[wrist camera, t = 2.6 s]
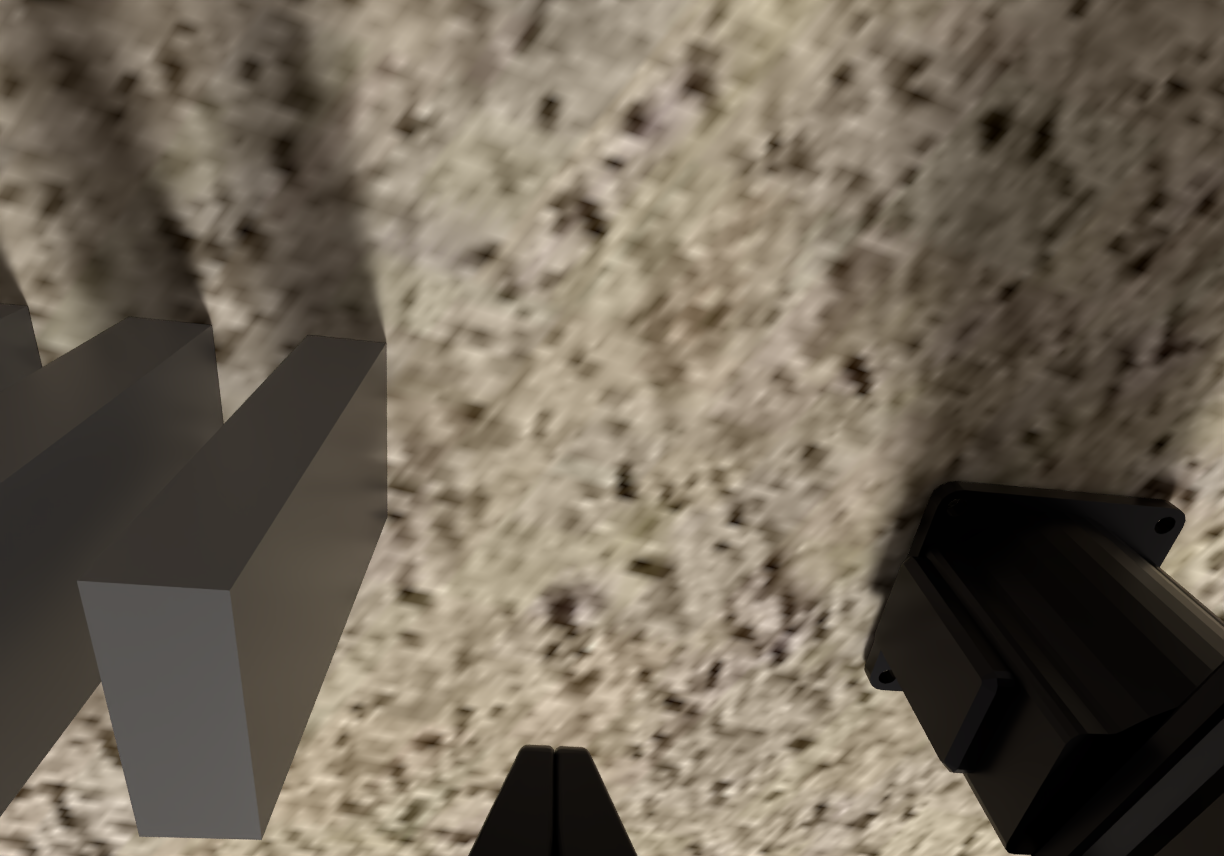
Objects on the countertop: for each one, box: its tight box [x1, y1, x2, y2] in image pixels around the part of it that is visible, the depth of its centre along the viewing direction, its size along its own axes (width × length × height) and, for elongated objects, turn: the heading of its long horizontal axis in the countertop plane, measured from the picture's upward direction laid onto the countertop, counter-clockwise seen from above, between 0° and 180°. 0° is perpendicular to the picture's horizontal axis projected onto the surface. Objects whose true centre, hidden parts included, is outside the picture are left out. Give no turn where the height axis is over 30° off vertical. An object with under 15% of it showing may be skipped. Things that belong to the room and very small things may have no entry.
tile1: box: [77, 335, 387, 840], centre depth 13 cm, size 2×4×8 cm, turn 172°
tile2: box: [0, 317, 224, 816], centre depth 12 cm, size 2×4×8 cm, turn 172°
